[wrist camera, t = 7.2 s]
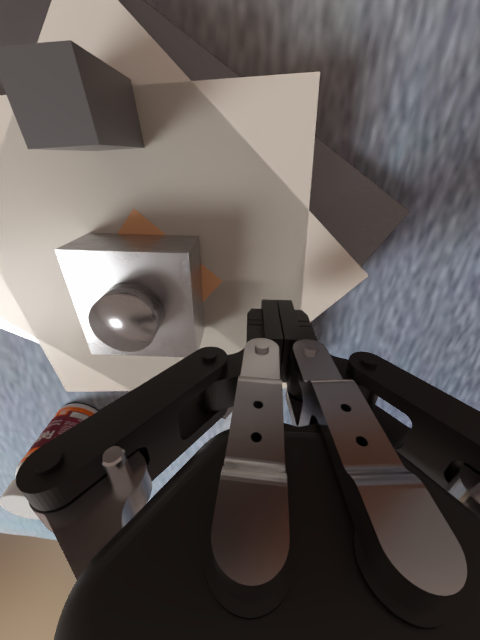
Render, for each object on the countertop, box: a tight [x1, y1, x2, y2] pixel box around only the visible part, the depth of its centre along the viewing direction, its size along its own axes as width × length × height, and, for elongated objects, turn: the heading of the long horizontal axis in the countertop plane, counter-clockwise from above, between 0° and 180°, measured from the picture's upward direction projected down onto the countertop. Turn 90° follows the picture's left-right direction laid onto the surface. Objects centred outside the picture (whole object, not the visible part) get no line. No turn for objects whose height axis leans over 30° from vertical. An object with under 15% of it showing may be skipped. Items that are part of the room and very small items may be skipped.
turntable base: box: [0, 0, 410, 419], centre depth 18 cm, size 22×22×1 cm
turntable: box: [0, 0, 368, 392], centre depth 15 cm, size 26×26×6 cm
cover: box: [55, 233, 205, 357], centre depth 14 cm, size 6×6×4 cm
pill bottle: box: [0, 403, 98, 519], centre depth 24 cm, size 5×5×8 cm
